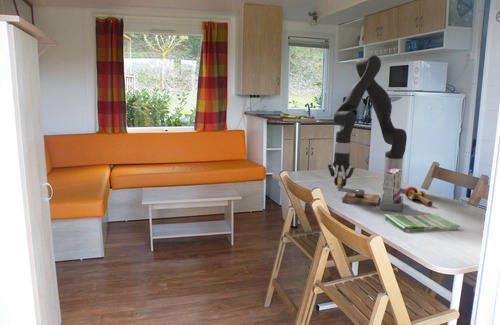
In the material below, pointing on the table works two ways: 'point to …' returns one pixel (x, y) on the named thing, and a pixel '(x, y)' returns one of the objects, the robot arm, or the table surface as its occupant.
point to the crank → (340, 188)
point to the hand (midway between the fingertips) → (339, 185)
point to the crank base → (361, 199)
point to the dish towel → (421, 223)
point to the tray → (391, 205)
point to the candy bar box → (392, 186)
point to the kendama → (417, 195)
